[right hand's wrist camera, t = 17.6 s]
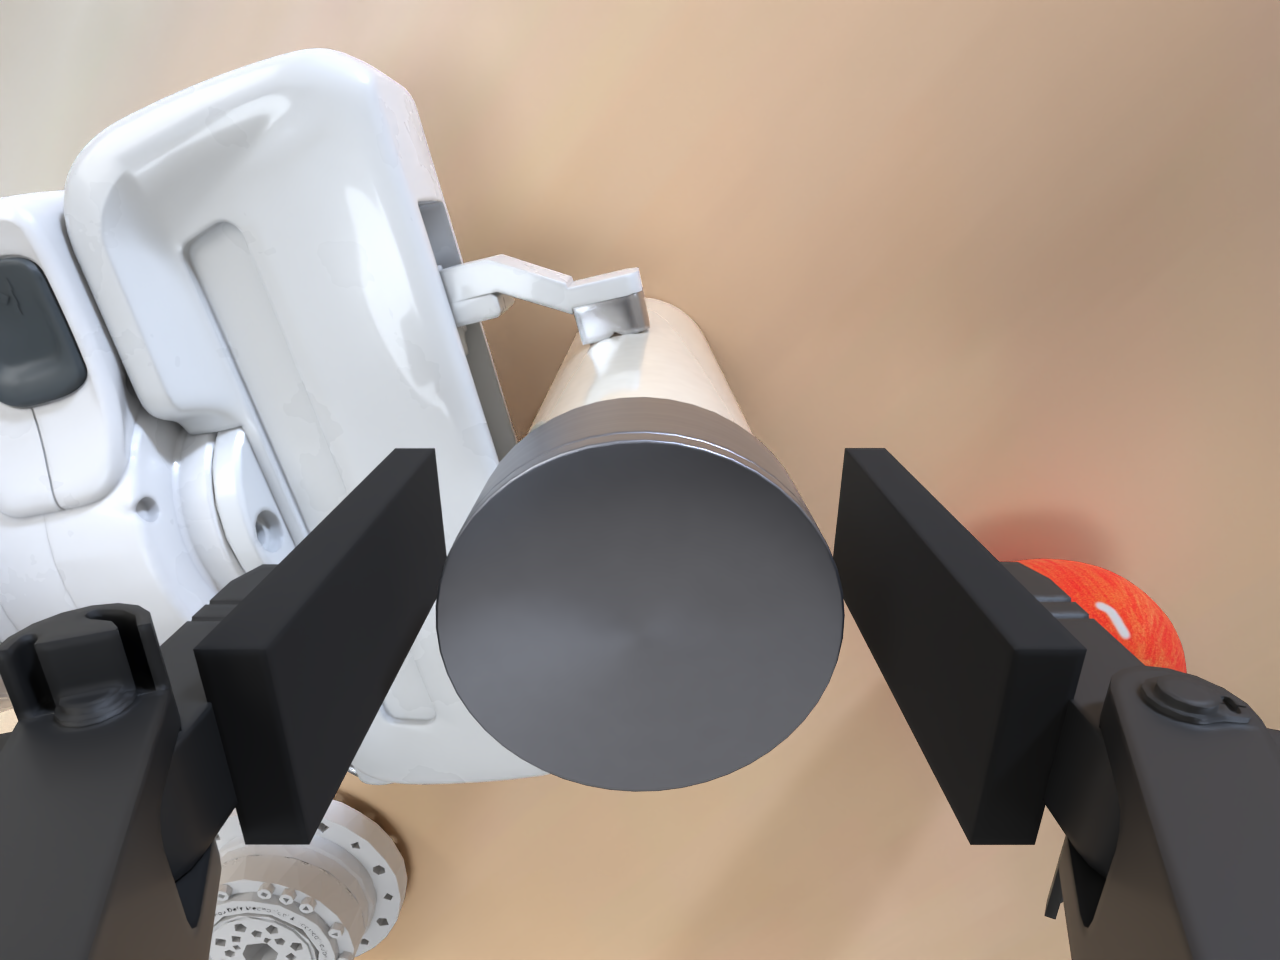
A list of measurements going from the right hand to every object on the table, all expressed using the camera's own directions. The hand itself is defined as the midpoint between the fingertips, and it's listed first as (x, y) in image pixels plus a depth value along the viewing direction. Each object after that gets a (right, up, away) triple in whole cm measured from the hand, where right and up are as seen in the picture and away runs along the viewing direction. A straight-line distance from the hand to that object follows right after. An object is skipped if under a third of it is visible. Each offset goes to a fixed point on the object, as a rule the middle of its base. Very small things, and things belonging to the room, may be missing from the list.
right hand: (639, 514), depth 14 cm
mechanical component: (-16, -18, +21) cm, 32 cm away
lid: (0, -1, -4) cm, 4 cm away
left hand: (+1, +2, +6) cm, 6 cm away
